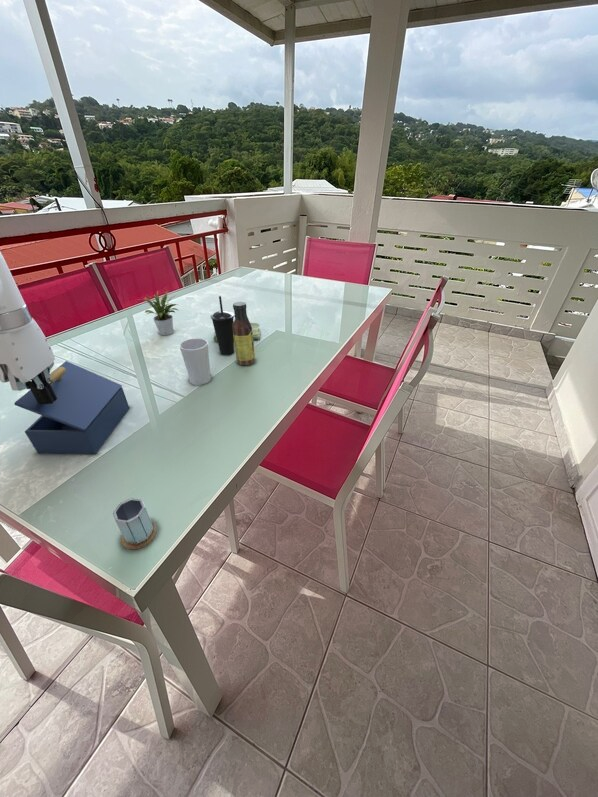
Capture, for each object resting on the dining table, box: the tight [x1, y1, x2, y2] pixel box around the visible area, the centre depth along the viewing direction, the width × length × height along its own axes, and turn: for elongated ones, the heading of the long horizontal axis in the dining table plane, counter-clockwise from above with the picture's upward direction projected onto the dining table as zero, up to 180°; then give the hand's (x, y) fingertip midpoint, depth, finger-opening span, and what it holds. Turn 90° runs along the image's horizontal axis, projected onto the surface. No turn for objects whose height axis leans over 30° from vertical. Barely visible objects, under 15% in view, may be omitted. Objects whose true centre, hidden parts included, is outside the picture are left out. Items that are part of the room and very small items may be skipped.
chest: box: [24, 387, 130, 455], centre depth 80 cm, size 13×18×7 cm
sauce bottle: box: [232, 301, 256, 366], centre depth 106 cm, size 6×6×20 cm
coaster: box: [120, 520, 157, 551], centre depth 58 cm, size 6×6×1 cm
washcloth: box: [213, 322, 261, 342], centre depth 128 cm, size 13×18×3 cm
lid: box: [13, 360, 123, 432], centre depth 75 cm, size 14×18×4 cm
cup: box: [178, 337, 212, 386], centre depth 98 cm, size 8×8×12 cm
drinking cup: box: [210, 295, 235, 356], centre depth 111 cm, size 8×8×20 cm
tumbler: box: [112, 497, 153, 545], centre depth 56 cm, size 5×5×6 cm
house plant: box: [139, 290, 179, 336], centre depth 125 cm, size 14×14×16 cm
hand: (48, 401), depth 70 cm, fingers closed
